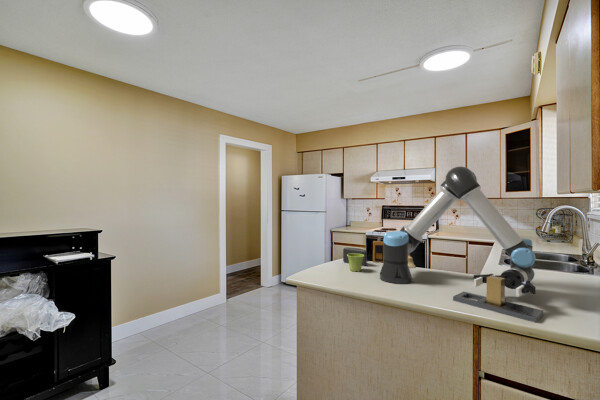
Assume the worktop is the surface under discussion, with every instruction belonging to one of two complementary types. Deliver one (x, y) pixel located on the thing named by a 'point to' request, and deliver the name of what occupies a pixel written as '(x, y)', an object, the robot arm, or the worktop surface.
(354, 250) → the leaning round-cornered charcoal block
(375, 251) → the multimeter
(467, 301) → the grey slotted tray
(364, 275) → the worktop surface
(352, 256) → the plant pot
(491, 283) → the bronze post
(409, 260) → the hand bell
